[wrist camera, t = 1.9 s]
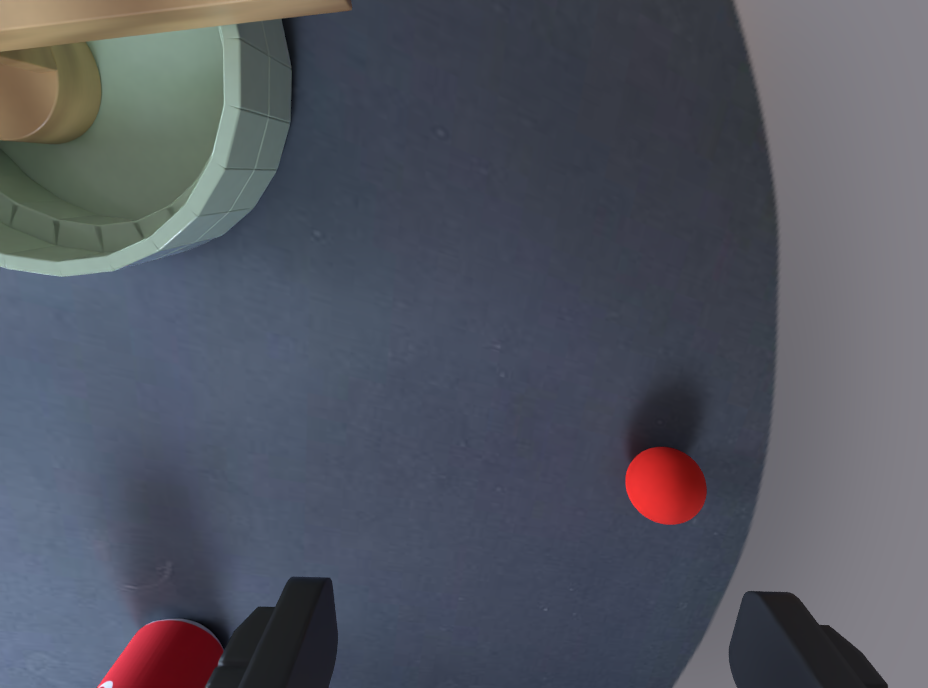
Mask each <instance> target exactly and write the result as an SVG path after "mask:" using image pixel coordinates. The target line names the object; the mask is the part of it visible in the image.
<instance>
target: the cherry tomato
mask: <svg viewBox="0 0 928 688" xmlns="http://www.w3.org/2000/svg"><path fill="white" fill-rule="evenodd" d="M626 490H627V493H628V496H629V498H630V500H631V502H632V504H633V505H634V506H635V508H636V509H637V510H638V511H639V512H640V513H641V514H642V515H644V516H645V517H647V518H648V519H650V520H652V521H654V522H658V523H661V524H668V525H671V524H680V523H683V522H686V521H688V520H690V519H692V518H693V517H694V516H695V515H696V514H697V513H698V512H699V511H700V510H701V508H702V507H703V505H704V502H705V499H706V493H707V487H706V481H705V478H704V475H703V473H702V471H701V469H700V467H699V466H698V465H697V463H696V462H695V461H694V460H693V459H692V458H691V457H689V456H688V455H686V454H685V453H683V452H681V451H679V450H677V449H674V448H669V447H654V448H650V449H647V450H645V451H643V452H641V453H640V454H638V455H637V456H636V457H635V458H634V459H633V461H632V462H631V463H630V465H629V467H628V470H627V473H626Z"/></svg>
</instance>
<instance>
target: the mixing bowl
mask: <svg viewBox="0 0 928 688" xmlns="http://www.w3.org/2000/svg"><path fill="white" fill-rule="evenodd" d="M86 43H87V45H88V47H89V48H90V50H91V52H92V54H93V56H94V59H95V61H96V64H97V67H98V71H99V75H100V80H101V104H100V108H99V112H98V114H97V117H96V119H95V121H94V122H93V124H92V126H91V127H90V128H89V129H88V130H87V131H86V132H85V133H84V134H83V135H81V136H80V137H78V138H76V139H75V140H72V141H70V142H67V143H61V144H41V143H28V142H15V141H2V140H0V266H1V267H3V268H7V269H12V270H19V271H26V272H33V273H39V274H46V275H53V276H60V277H61V276H62V277H66V276H75V275H83V274H92V273H101V272H109V271H115V270H119V269H123V268H126V267H130V266H134V265H138V264H141V263H145V262H149V261H152V260H156V259H160V258H163V257H167V256H171V255H175V254H178V253H182V252H186V251H188V250H190V249H193V248H195V247H197V246H200V245H202V244H204V243H206V242H209V241H211V240H213V239H216V238H218V237H220V236H221V235H224V234H225V233H226V232H227V231H228V230H230V229H231V228H232V227H233V226H234V225H235V224H236V223H238V222H239V221H240V220H241V219H242V218H243V217H244V216H246V215H247V214H248V213H249V212H250V211H251V210H252V209H253V208H254V207H255V206H256V204H257V202H258V201H259V199H260V198H261V196H262V194H263V193H264V191H265V189H266V188H267V186H268V185H269V183H270V181H271V180H272V178H273V176H274V175H275V173H276V172H277V170H276V169H278V166H279V162H280V158H281V155H282V151H283V148H284V144H285V141H286V137H287V134H288V130H289V126H290V121H291V80H292V70H291V62H290V58H289V53H288V48H287V43H286V38H285V34H284V29H283V24H282V19H273V20H265V21H256V22H248V23H239V24H231V25H222V26H214V27H206V28H197V29H189V30H180V31H172V32H163V33H155V34H146V35H138V36H129V37H121V38H112V39H104V40H96V41H87V42H86Z"/></svg>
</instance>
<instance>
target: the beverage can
mask: <svg viewBox="0 0 928 688" xmlns="http://www.w3.org/2000/svg"><path fill="white" fill-rule="evenodd" d="M223 652H224V649H223V647H222V645H221V643H220V642H219V640H218V639H217V638H216V636H215V635H214V634H213V633H212V632H211V631H210V630H209V629H207V628H206V627H205V626H203V625H201V624H199V623H197V622H194V621H191V620H186V619H163V620H159V621H154V622H152V623H149V624H147V625H145V626H144V627H142V628H141V629H140V630H139V631H138V632H137V633H136V634H135V636H134V637H133V638H132V640H131V641H130V643H129V644H128V645H127V647H126V648H125V649H124V651H123V652H122V654H121V655H120V656H119V658H118V659H117V661H116V662H115V663H114V665H113V666H112V667H111V669H110V670H109V672H108V673H107V674H106V676H105V677H104V679H103V680H102V681H101V683H100V684H99V686H98V687H97V688H205V686H206V684H207V682H208V680H209V678H210V676H211V674H212V672H213V670H214V669H215V667H217V666H218V661H219V659H220V657H221V655H222V653H223Z"/></svg>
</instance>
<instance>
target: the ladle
mask: <svg viewBox="0 0 928 688" xmlns="http://www.w3.org/2000/svg"><path fill="white" fill-rule="evenodd" d="M349 10H352V4H351V0H0V140H2V141H15V142H28V143H41V144H61V143H67V142H70V141H72V140H75V139H76V138H78V137H80V136H81V135H83V134H84V133H85V132H86V131H87V130H88V129H89V128H90V127H91V126H92V124H93V122H94V121H95V119H96V117H97V114H98V112H99V108H100V104H101V80H100V75H99V71H98V67H97V64H96V61H95V59H94V56H93V54H92V52H91V50H90V48H89V47H88V45H87V43H86V42H87V41H96V40H104V39H112V38H121V37H129V36H138V35H146V34H155V33H163V32H172V31H180V30H189V29H197V28H206V27H214V26H222V25H231V24H239V23H248V22H256V21H265V20H273V19H282V18H290V17H299V16H307V15H316V14H324V13H332V12H341V11H349Z"/></svg>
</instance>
